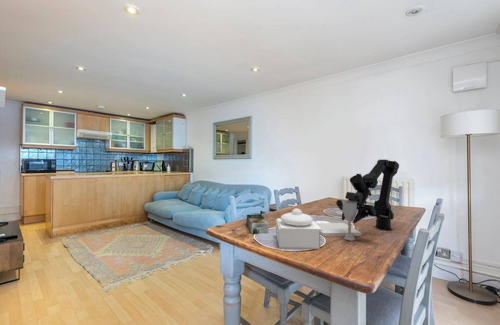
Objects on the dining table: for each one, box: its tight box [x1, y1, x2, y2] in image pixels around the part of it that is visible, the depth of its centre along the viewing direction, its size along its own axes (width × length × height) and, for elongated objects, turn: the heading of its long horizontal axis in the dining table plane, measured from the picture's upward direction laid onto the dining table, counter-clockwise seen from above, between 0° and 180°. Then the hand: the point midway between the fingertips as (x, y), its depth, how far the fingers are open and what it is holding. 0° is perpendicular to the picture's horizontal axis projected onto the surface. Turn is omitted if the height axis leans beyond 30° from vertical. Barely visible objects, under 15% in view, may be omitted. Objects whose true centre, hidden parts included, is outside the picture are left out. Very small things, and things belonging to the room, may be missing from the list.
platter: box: [315, 222, 362, 237], centre depth 126 cm, size 20×18×2 cm
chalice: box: [342, 200, 358, 241], centre depth 112 cm, size 7×7×18 cm
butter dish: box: [275, 207, 322, 250], centre depth 108 cm, size 18×18×16 cm
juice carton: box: [246, 213, 269, 234], centre depth 129 cm, size 20×10×6 cm, turn 9°
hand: (347, 221), depth 112 cm, fingers closed on chalice, 6 cm apart
